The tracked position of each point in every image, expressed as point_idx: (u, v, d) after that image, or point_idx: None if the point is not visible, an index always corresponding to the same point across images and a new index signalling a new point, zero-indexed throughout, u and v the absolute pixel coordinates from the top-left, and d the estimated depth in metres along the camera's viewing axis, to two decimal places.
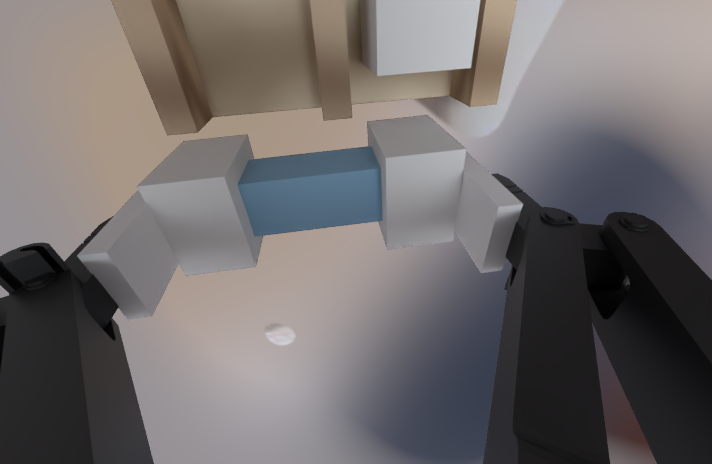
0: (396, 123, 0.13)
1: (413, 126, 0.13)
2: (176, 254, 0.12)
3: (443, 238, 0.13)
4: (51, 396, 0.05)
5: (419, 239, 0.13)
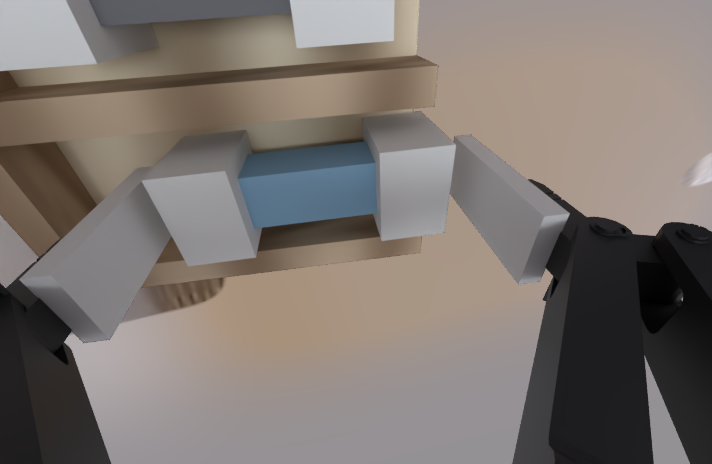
0: (390, 119, 0.14)
1: (406, 122, 0.13)
2: (179, 245, 0.12)
3: (434, 230, 0.13)
4: None
5: (412, 230, 0.13)
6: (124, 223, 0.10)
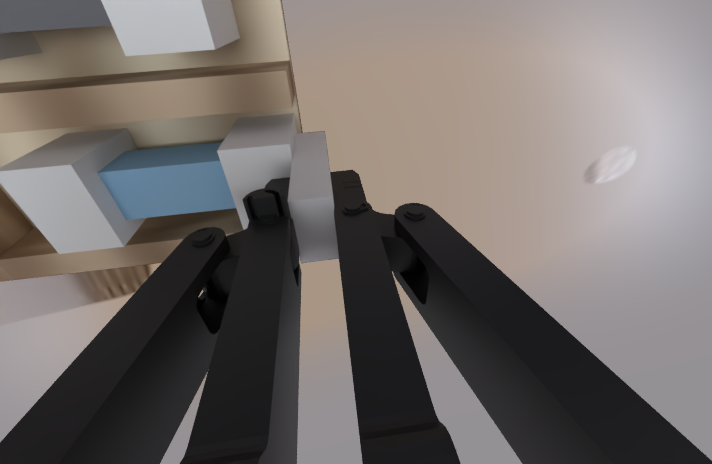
0: (260, 120, 0.15)
1: (270, 123, 0.14)
2: (45, 234, 0.13)
3: None
4: (256, 324, 0.06)
5: None
6: None
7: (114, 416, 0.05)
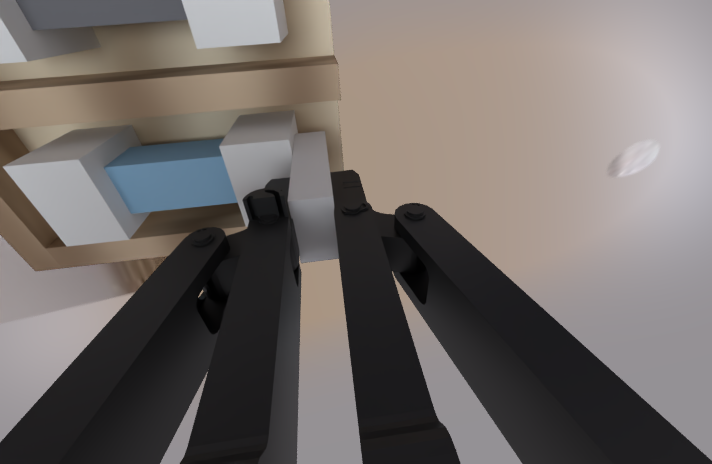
0: (261, 117, 0.15)
1: (271, 120, 0.15)
2: (53, 227, 0.14)
3: None
4: (256, 324, 0.06)
5: None
6: None
7: (114, 416, 0.05)
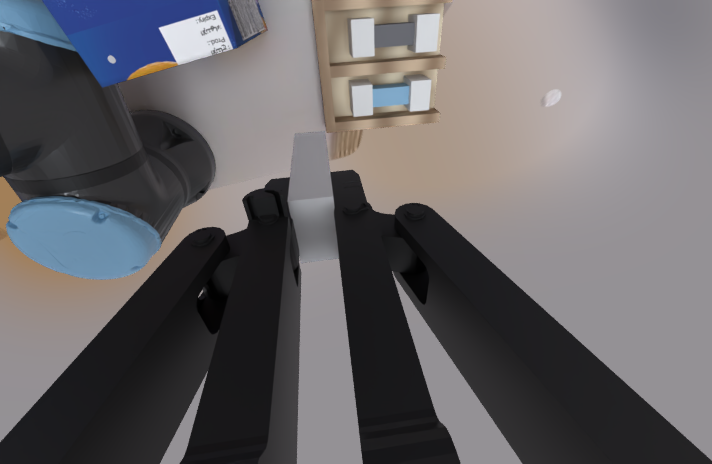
0: (412, 75, 0.45)
1: (417, 76, 0.44)
2: (353, 108, 0.43)
3: (425, 108, 0.44)
4: (256, 324, 0.06)
5: (419, 108, 0.44)
6: None
7: (114, 416, 0.05)
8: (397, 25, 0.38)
